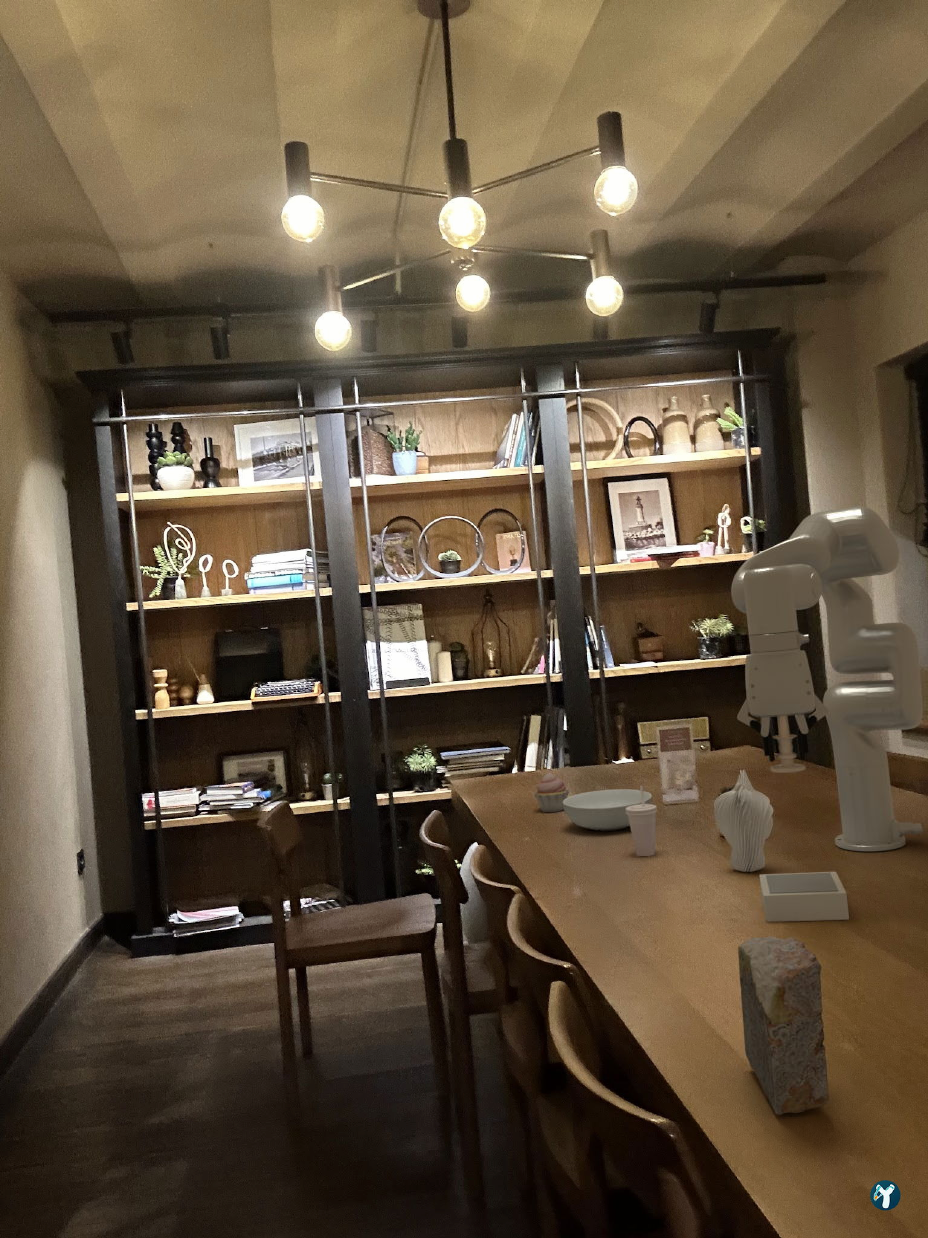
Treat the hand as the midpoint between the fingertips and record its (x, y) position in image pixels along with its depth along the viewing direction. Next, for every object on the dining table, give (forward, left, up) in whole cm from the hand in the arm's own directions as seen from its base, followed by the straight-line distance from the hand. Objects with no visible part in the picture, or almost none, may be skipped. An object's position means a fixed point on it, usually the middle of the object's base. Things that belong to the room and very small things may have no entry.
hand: (786, 758), depth 153 cm
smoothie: (+27, -39, -24) cm, 53 cm away
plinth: (0, 0, -24) cm, 24 cm away
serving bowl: (+37, -67, -24) cm, 80 cm away
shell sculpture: (+7, -24, -24) cm, 35 cm away
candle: (0, 0, -2) cm, 2 cm away
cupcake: (+54, -90, -24) cm, 108 cm away
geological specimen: (+7, +59, -24) cm, 64 cm away
